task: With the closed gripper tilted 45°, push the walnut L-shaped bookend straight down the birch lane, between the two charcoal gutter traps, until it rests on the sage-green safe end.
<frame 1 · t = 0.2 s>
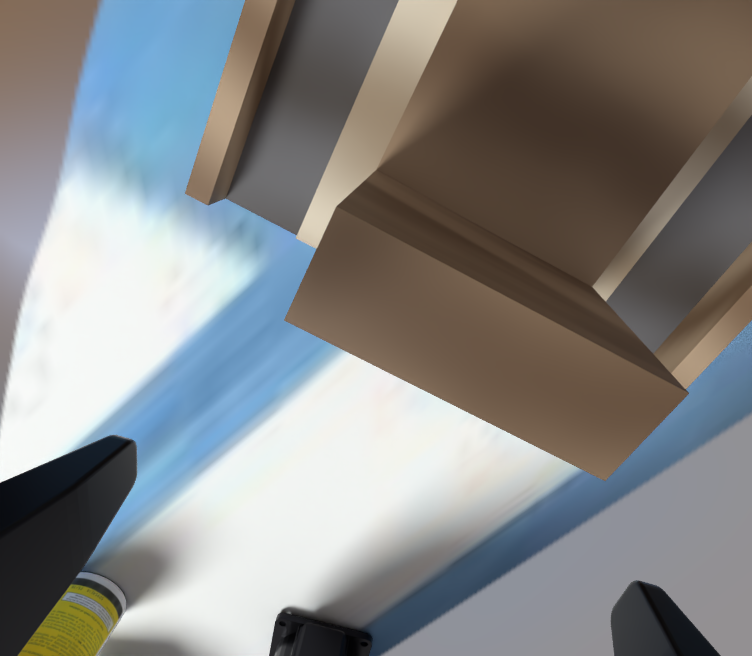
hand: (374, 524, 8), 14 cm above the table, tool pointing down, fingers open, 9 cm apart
supplement bottle: (97, 591, 34), on the table
trap box: (601, 10, 17), on the table
bookend: (530, 134, 18), point 1 cm above the table, touching trap box
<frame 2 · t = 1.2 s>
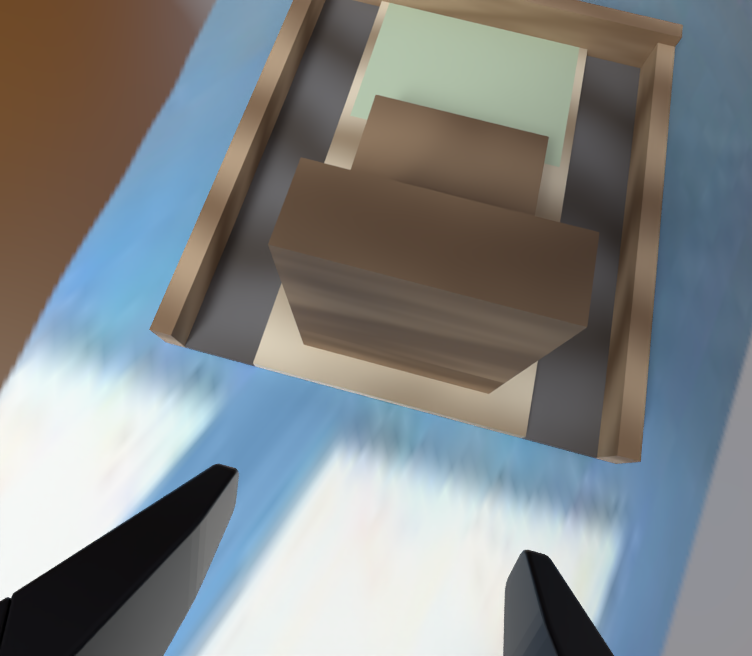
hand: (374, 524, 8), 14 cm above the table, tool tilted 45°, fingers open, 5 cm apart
trap box: (442, 184, 27), on the table
bookend: (426, 249, 25), point 1 cm above the table, touching trap box
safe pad: (457, 127, 28), resting on trap box
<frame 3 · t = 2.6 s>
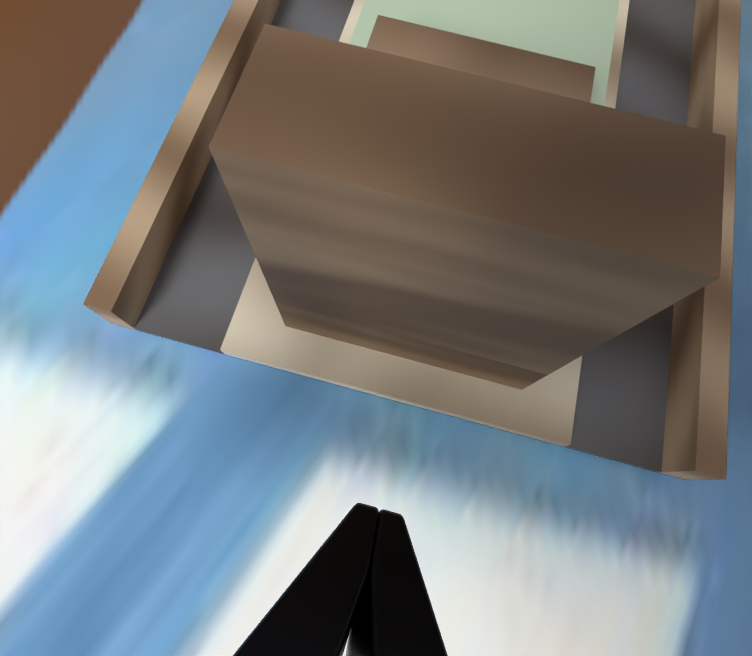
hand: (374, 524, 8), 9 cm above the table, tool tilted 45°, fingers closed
trap box: (459, 133, 22), on the table
bookend: (440, 209, 20), point 1 cm above the table, touching trap box
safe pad: (476, 67, 23), resting on trap box
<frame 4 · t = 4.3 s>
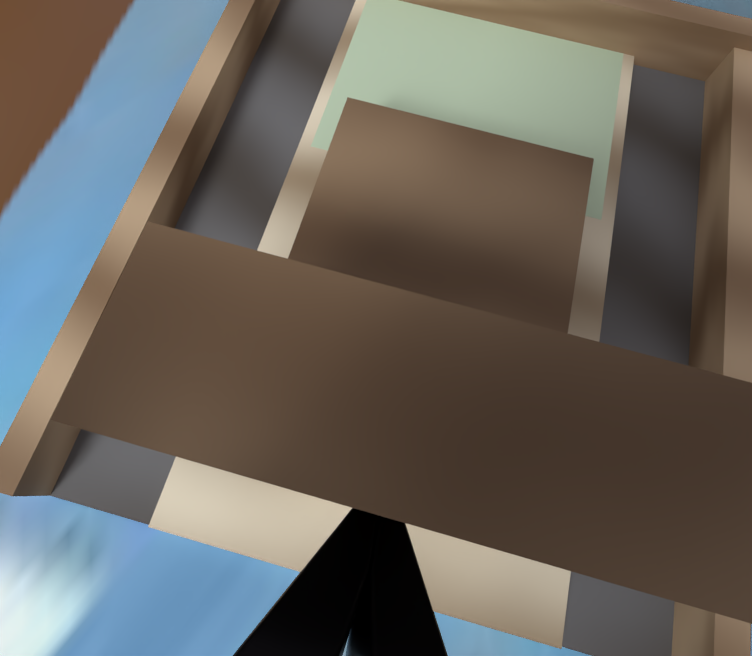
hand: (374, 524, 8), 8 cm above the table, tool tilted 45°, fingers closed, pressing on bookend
trap box: (438, 243, 19), on the table
bookend: (417, 316, 17), point 1 cm above the table, touching gripper, trap box
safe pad: (458, 162, 20), resting on trap box
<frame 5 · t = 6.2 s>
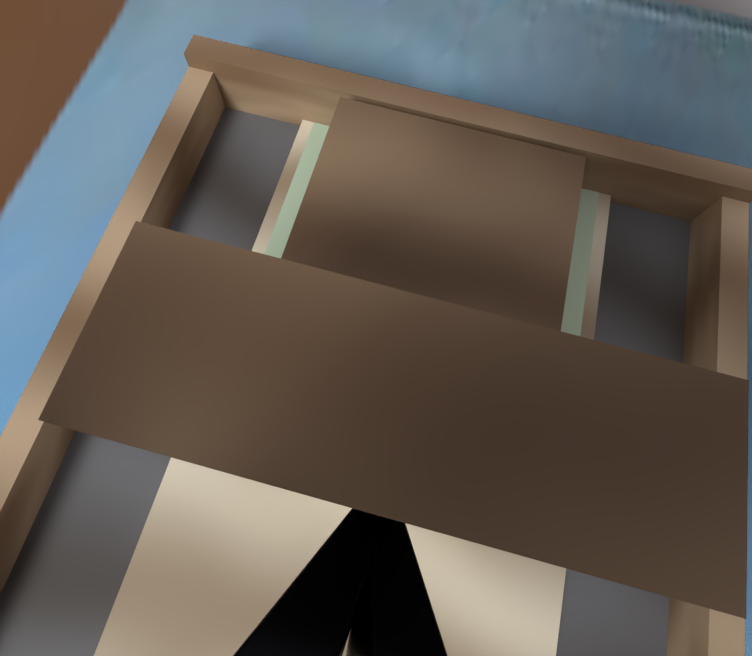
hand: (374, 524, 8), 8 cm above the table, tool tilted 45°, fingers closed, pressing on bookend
trap box: (384, 434, 17), on the table
bookend: (411, 315, 17), point 1 cm above the table, touching gripper, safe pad
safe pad: (410, 328, 18), resting on trap box
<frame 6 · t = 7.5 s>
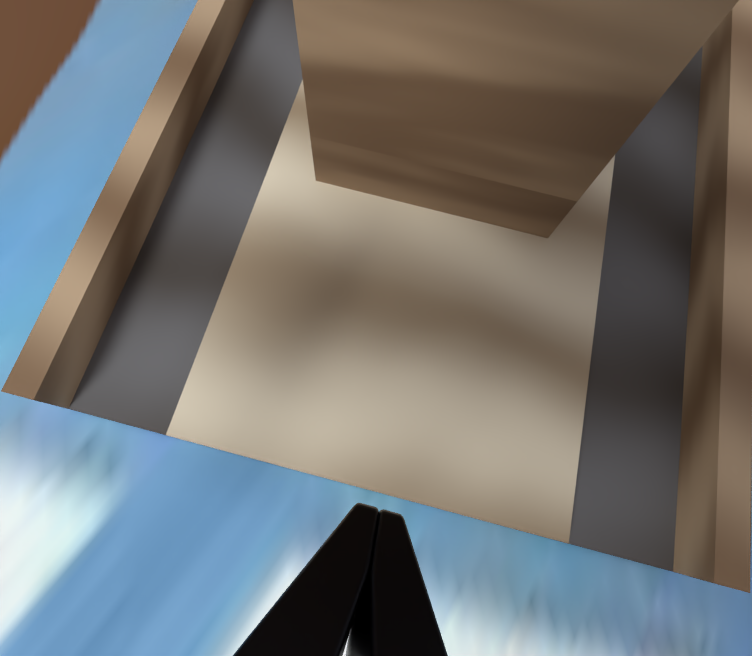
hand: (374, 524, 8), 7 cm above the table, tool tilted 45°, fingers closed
trap box: (443, 171, 19), on the table
bookend: (464, 77, 20), point 1 cm above the table, touching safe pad, trap box
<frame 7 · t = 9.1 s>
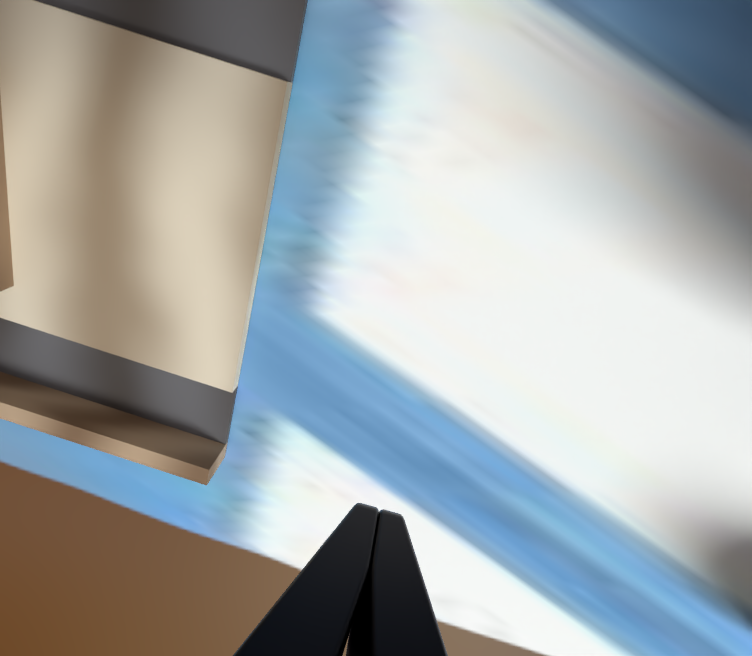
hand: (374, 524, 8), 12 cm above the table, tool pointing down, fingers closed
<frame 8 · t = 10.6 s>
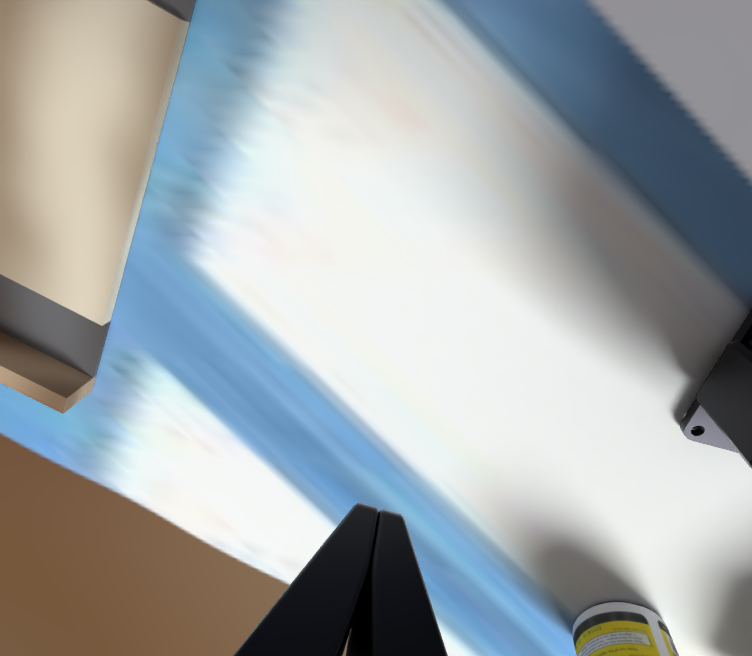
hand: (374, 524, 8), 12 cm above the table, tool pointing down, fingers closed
supplement bottle: (616, 624, 26), on the table
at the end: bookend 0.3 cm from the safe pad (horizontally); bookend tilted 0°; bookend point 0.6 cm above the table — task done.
